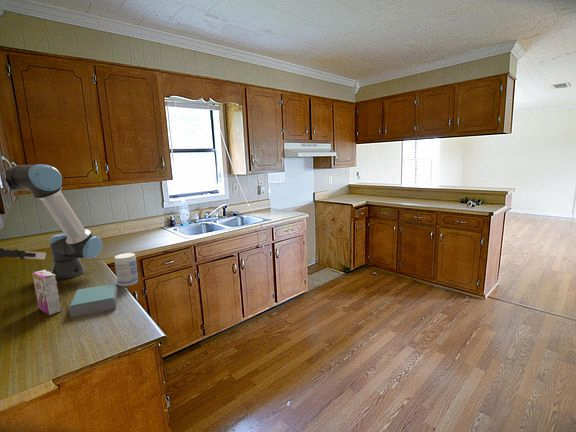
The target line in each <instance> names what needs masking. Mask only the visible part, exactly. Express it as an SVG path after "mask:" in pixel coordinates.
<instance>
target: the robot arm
mask: <svg viewBox="0 0 576 432" xmlns="http://www.w3.org/2000/svg"><path fill="white" fill-rule="evenodd" d="M4 169H5V173H6V182H7V187H8V191H9V190H10V191H9V193H12V192H17V191H29V192H30V193H31V195H32V196H33V198H34V199H37V200H41V202H42V204H43V205H44V207H45V208H46V209H47V210H48V212H49V213H50V215H51V217H52V218H53V219H54V221H55V222H56V224H57V225H58V226H59V227H60V229H61V231H62V232H63V233H58V234H55V235H52V236H51V237H50V238H49V246H50V253H51V258H52V263H53V264H52V268H51V271H50V272H51V273H53V274H55V275H56V280H68V279H71V278H76V277H78V276H81V275H83V274H84V273H85V267H84V265H83V263H82V262H81V260H80V259H94V258H96V257H97V256H99V254H100V253H101V251H102V248H103V241H102V238H100V237H99V236H98V235H97V236H94V234H92V232H91V231H90V230H89V228H88V229H87V228H85V227H84V226H83V224H82V222H81V221H80V219H79V218H78V217H77V215H76V213H75V211H74V210H73V209H72V207H71V205H70V203H69V202H68V201H67V199H66V198H65V196H64V195H63V193H62V189H63V187H62V186H63V185H62V184H63V181H62V180H63V177H62V174H61V173H60V171H59V170H58V169H57V168H56V167H53V166H52V165H49V164H40V163H39V164H38V163H37V164H36V163H35V164H19V165H17V164H16V165H14V166H11V167H7V168H4ZM9 193H8V194H9ZM46 256H47V252H42V251H30V250H28V251H27V250H19V249H14V250H11V249H7V248H2V247H1V248H0V258H3V259H4V258H5V257H8V258H18V259H19V258H20V260H23V261H24V259H29V260H30V259H31V260H46Z"/></svg>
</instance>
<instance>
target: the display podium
mask: <svg viewBox="0 0 576 432" xmlns="http://www.w3.org/2000/svg"><path fill="white" fill-rule="evenodd" d="M118 288H119V287H118V284H117V283H110V284H106V285H105V284H104V285H100V286H99V285H98V286H93V287H87V288H80V289H77V290H76V291H75V293H74V295H73V297H72V300H71V302H70V305H69V307H68V311H69V312H68V313H69V317H70V319H72V318H77V317H81V316H82V317H83V316H86V315H92V314H96V313H103V312H107V311H111V310H112V311H113V310H116V309H117V303H118V297H119V295H118V294H119V290H118Z"/></svg>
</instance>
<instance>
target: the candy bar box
mask: <svg viewBox="0 0 576 432" xmlns="http://www.w3.org/2000/svg"><path fill="white" fill-rule="evenodd" d="M31 275H32V279H33V285H34V291H35V295H36V296H35V297H36V300H37V305H38V309H39V310H41V311H42V312H43V313H44V314H46V315H48V316H52V315H55V314H57V313H61V312H62V310H63V309H62V304H61V299H60V294H59V287H58V280H57V279H56V275H55V274H53V273H51V271H49V270H47V269H41V270H37V271H33V272H32V273H31Z"/></svg>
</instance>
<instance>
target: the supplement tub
mask: <svg viewBox="0 0 576 432" xmlns="http://www.w3.org/2000/svg"><path fill="white" fill-rule="evenodd" d="M114 267H115V275H116V276H115V277H116V282H117V283H116V284H117V286H119V287H129V286H133V285H135V284H137V283H138V281H139V275H138V267H137V256H136V254H135V253H132V252H126V253H125V252H124V253H121V254H117V255H115V256H114Z"/></svg>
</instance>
